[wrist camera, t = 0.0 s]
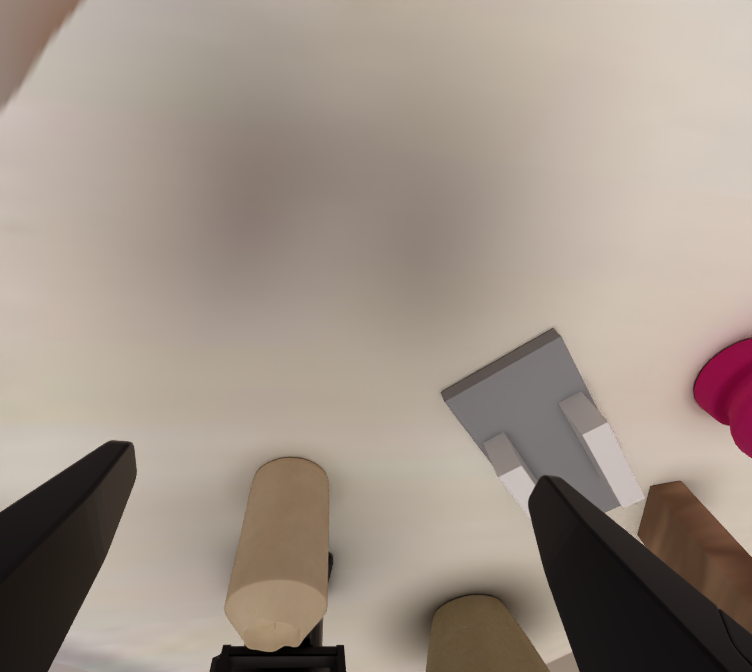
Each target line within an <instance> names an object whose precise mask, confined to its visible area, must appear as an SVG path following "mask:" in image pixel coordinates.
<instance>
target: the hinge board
mask: <svg viewBox="0 0 752 672" xmlns="http://www.w3.org/2000/svg"><path fill="white" fill-rule="evenodd" d="M441 394H442V396H443V399H444V402H445V403H446V404H447V406H448V407H449V408H450V410H451V411H452V412H453V414H454V415H455V416H456V418H457V419H458V420H459V422H460V423H461V424H462V425H463V427H464V428H465V429H466V431H467V432H468V433H469V435H470V436H471V437H472V439H473V440H474V441H475V443H476V444H477V445H478V447H479V448H480V449H481V451H482V452H483V453H484V455H485V456H486V457H487V458H488V460H489V461H490V462H491V464H492V465H493V467H494V469H495V472H496V474H497V476H498V478H499V479H500V481H501V482H502V483H503V484H504V486H505V487H506V488H507V490H508V491H509V492H510V494H511V495H512V496H513V497H514V499H515V500H516V501H517V503H518V504H519V505H520V507H521V508H522V509H523V511H524V512H525V513H526V514H527V516H528V517H529V518H530V520H531V517H530V513H529V509H528V499H529V496H530V494H531V493H532V491H533V489H534V487H535V485H536V483H537V481H538V480H539V478H540V477H541V476H543V475H552V476H559V477H561V478H562V479H564V480H565V481H566V482H567V483H568V484H570V485H571V486H572V487H573V488H575V489H576V490H577V491H578V492H579V493H581V494H582V495H583V496H584V497H585V498H587V499H588V500H589V501H590V502H592V503H593V504H594V505H595V506H596V507H598V508H599V509H600V510H601V511H603V512H604V513H605V512H607V511H610V510H612V509H614V508H616V507H618V506H621V507H622V508H623V509H624V508H626V507H628V506H630V505H632V504H635V503H637V502H639V501H641V500H643V499H646V498H645V496H644V494H643V492H642V490H641V488H640V486H639V484H638V482H637V480H636V478H635V476H634V474H633V472H632V470H631V468H630V466H629V464H628V462H627V460H626V458H625V456H624V454H623V452H622V450H621V448H620V446H619V443H618V441H617V439H616V437H615V435H614V433H613V431H612V429H611V427H610V425H609V423H608V422H607V420H606V419H605V418H604V417H603V416H602V415H601V413H600V412H599V411H598V410H597V408H596V406H595V404H594V402H593V400H592V398H591V396H590V394H589V391H588V389H587V387H586V385H585V383H584V381H583V379H582V377H581V375H580V373H579V371H578V369H577V367H576V365H575V363H574V361H573V359H572V357H571V355H570V353H569V351H568V349H567V347H566V345H565V343H564V341H563V339H562V337H561V336H560V335H559V334H558V333H557V332H556V331H555V330H554V329H551V330H550V331H548V332H546V333H544V334H543V335H541V336H539V337H537V338H535V339H534V340H532V341H530V342H528V343H527V344H525V345H523V346H521V347H520V348H518V349H516V350H514V351H513V352H511V353H509V354H507V355H506V356H504V357H502V358H500V359H499V360H497V361H495V362H493V363H492V364H490V365H488V366H486V367H485V368H483V369H481V370H479V371H478V372H476V373H474V374H472V375H471V376H469V377H467V378H465V379H464V380H462V381H460V382H458V383H457V384H455V385H453V386H451V387H450V388H448V389H446V390H444V391H443V392H441Z"/></svg>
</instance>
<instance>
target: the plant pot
mask: <svg viewBox="0 0 752 672" xmlns="http://www.w3.org/2000/svg"><path fill="white" fill-rule="evenodd" d="M426 672H550V671H549V669H548V668H547V666H546V664H545V663H544V661H543V660H542V658H541V657H540V655H539V654H538V652H537V651H536V649H535V648H534V646H533V645H532V643H531V642H530V640H529V639H528V637H527V636H526V634H525V633H524V631H523V630H522V628H521V627H520V626H519V624H518V623H517V622H516V620H515V619H514V617H513V616H512V615H511V613H510V612H509V610H508V609H507V608H506V606H505V605H504V604H503V603H502V602H501V601H500V600H498V599H497V598H494V597H491V596H486V595H470V596H464V597H460V598H457V599H454V600H452V601H450V602H448V603H446V604H444V605H443V606H441V607H440V608H439V609H438V610H437V611H436V613H435V614H434V616H433V620H432V627H431V634H430V641H429V648H428V656H427V665H426Z"/></svg>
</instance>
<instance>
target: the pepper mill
mask: <svg viewBox="0 0 752 672" xmlns="http://www.w3.org/2000/svg"><path fill="white" fill-rule="evenodd" d="M694 394H695V399H696V401H697V403H698V404H699V406H700V407H701V408H703V409H704V410H705V411H706V412H707V413H709V414H710V415H711V416H712V417H714V418H715V419H716V420H717V421H719V422H720V423H722V424H724V425H728V426H730V431H731V435H732V437H733V439H734V442H735V444H736V445H737V446H738V448H739V449H740V450H741V451H742V452H744V453H745V454H746V455H748V456H749V457H751V458H752V339H747V340H744V341H742V342H739V343H736V344H734V345H732V346H730V347H728V348H727V349H725V350H723V351H722V352H721V353H719V354H718V355H717V356H715V357H714V358H713V359H712V360H711V361H710V362H709V363H708V364H707V365H706V366H705V367H704V368H703V370H702V371H701V373H700V375H699V377H698V379H697V380H696V384H695V388H694Z"/></svg>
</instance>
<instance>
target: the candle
mask: <svg viewBox="0 0 752 672" xmlns="http://www.w3.org/2000/svg"><path fill="white" fill-rule="evenodd" d="M328 543H329V482H328V478H327V475H326V473H325V472H324V471H323V470H322V468H320V467H319V466H318V465H316V464H315V463H313V462H311V461H308V460H305V459H300V458H281V459H277V460H274V461H271V462H269V463H267V464H266V465H264V466H263V467H262V468H260V469H259V471H258V472H257V473H256V475H255V477H254V479H253V482H252V486H251V490H250V494H249V499H248V503H247V508H246V512H245V517H244V521H243V526H242V530H241V535H240V539H239V544H238V548H237V553H236V557H235V561H234V566H233V570H232V575H231V579H230V584H229V588H228V593H227V597H226V602H225V606H224V611H225V614H226V616H227V618H228V620H229V621H230V622H231V624H232V625H233V627H234V628H235V629H236V631H237V632H238V634H239V635H240V637H241V638H242V640H243V641H244V643H245V645H246V646H247V648H249V649H255V650H261V651H266V652H273V651H276V650H278V649H280V648H281V647H283V646H291V647H298V646H299V645H300V644H301V642H302V641H303V639H304V638H305V637H306V636H307V635H308V633H309V632H310V631H311V630H312V629H313V628H314V627H315V625H316V624H317V623H318V622H319V621H320V620H321V619H322V618H323V616H324V615H325V613H326V611H327V602H328Z"/></svg>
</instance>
